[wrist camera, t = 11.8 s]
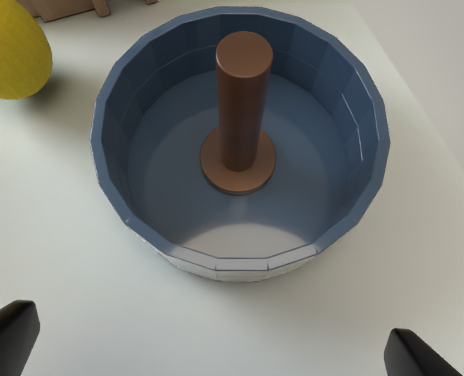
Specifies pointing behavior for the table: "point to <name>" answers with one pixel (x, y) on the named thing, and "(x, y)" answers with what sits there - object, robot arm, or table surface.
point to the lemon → (22, 52)
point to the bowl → (273, 124)
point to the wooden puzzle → (65, 7)
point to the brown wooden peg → (240, 117)
